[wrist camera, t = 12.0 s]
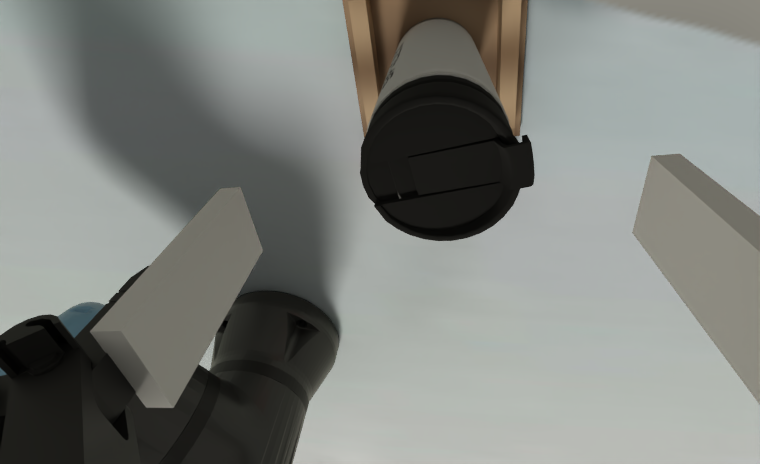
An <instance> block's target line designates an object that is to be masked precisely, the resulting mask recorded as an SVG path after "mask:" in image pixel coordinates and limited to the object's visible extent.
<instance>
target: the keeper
mask: <svg viewBox="0 0 760 464" xmlns="http://www.w3.org/2000/svg"><path fill="white" fill-rule="evenodd" d="M527 3H528V0H343V6H344V12H345V19H346V25H347V31H348V37H349V44H350V50H351V56H352V63H353V69H354V75H355V81H356V88H357V94H358V100H359V106H360V113H361V119H362V125H363V132H364V138H365V136H366V133H367V128H368V124H369V121H370V119H371V116H372V113H373V111H374V108H375V105H376V103H377V100H378V97H379V95H380V92H381V90H382V87H383V84H384V82H385V79H386V76H387V74H388V71H389V68H390V66H391V63H392V60H393V58H394V55H395V52H396V50H397V47H398V45H399V43H400V41H401V39H402V38H403V36H404V35H405V33H406V32H407V31H408V30H409V29H410V28H411V27H413V26H414V25H416V24H417V23H419V22H421V21H423V20H426V19H430V18H446V19H450V20H453V21H455V22H457V23H459V24H460V25H461V26H463V27H464V28H465V29H466V30H467V31H468V33H469V34H470V35H471V37H472V39H473V41H474V43H475V45H476V48H477V50H478V52H479V54H480V56H481V59H482V61H483V63H484V65H485V68H486V70H487V72H488V74H489V76H490V79H491V81H492V83H493V85H494V88H495V90H496V92H497V94H498V96H499V99H500V101H501V103H502V105H503V108H504V110H505V112H506V114H507V116H508V120H509V124H510V127H511V129H512V132H513V135H514V136H520V120H521V103H522V87H523V70H524V53H525V37H526V20H527Z"/></svg>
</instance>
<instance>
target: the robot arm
mask: <svg viewBox="0 0 760 464" xmlns="http://www.w3.org/2000/svg"><path fill="white" fill-rule="evenodd" d="M632 233H633V234H634V236H635V237H636V238H637V240H638V241H639V242H640V244H641V245H642V246H643V248H644V249H645V250H646V252H647V253H648V254H649V256H650V257H651V258H652V260H653V261H654V262H655V264H656V265H657V267H658V268H659V269H660V271H661V272H662V273H663V275H664V276H665V277H666V279H667V280H668V281H669V283H670V284H671V285H672V287H673V288H674V289H675V291H676V292H677V294H678V295H679V296H680V298H681V299H682V300H683V302H684V303H685V304H686V306H687V307H688V308H689V310H690V311H691V312H692V314H693V315H694V316H695V318H696V319H697V321H698V322H699V323H700V325H701V326H702V327H703V329H704V330H705V331H706V333H707V334H708V335H709V337H710V338H711V339H712V341H713V342H714V343H715V345H716V346H717V347H718V349H719V350H720V352H721V353H722V354H723V356H724V357H725V358H726V360H727V361H728V362H729V364H730V365H731V366H732V368H733V369H734V370H735V372H736V373H737V374H738V376H739V377H740V379H741V380H742V381H743V383H744V384H745V385H746V387H747V388H748V389H749V391H750V392H751V393H752V395H753V396H754V397H755V399H756V400H757V401H758V403H759V404H760V216H759V215H758V214H756V213H755V212H754V211H753V210H751V209H750V208H749V207H747V206H746V205H745V204H744V203H742V202H741V201H740V200H738V199H737V198H736V197H735V196H733V195H732V194H731V193H729V192H728V191H727V190H726V189H724V188H723V187H722V186H720V185H719V184H718V183H717V182H715V181H714V180H713V179H711V178H710V177H709V176H708V175H706V174H705V173H704V172H703V171H701V170H700V169H699V168H697V167H696V166H695V165H694V164H692V163H691V162H690V161H688V160H687V159H686V158H685V157H683V156H682V155H681V154H671V155H657V156H651V160H650V164H649V168H648V172H647V176H646V180H645V184H644V188H643V192H642V196H641V200H640V204H639V208H638V212H637V216H636V220H635V224H634V228H633V232H632ZM262 252H263V249H262V246H261V243H260V240H259V238H258V235H257V232H256V229H255V226H254V224H253V221H252V218H251V215H250V212H249V209H248V207H247V204H246V201H245V198H244V195H243V193H242V190H241V187H233V188H220V189H219V190H218V191H217V192H216V194H215V195H214V196H213V197H212V198H211V199H210V200H209V201H208V202H207V203H206V205H205V206H204V207H203V208H202V209H201V210H200V211H199V212H198V213H197V214H196V216H195V217H194V218H193V219H192V220H191V221H190V222H189V223H188V224H187V225H186V226H185V228H184V229H183V230H182V231H181V232H180V233H179V234H178V235H177V236H176V237H175V239H174V240H173V241H172V242H171V243H170V244H169V245H168V246H167V247H166V248H165V250H164V251H163V252H162V253H161V254H160V255H159V256H158V257H157V258H156V259H155V261H154V262H153V263H152V264H151V265H150V266H147V267H146V268H144V269H143V270H141V271H140V272H138V273H137V274H135V275H134V276H132V277H131V278H130V279H129V280H128V281H127V282H126V283H125V284H124V285H123V287H122V288H121V289H120V290H119V293H116V294H115V295H114V296H113V297H112V298H111V299H110V300H109V304H106V305H103V304H100V303H96V302H86V303H81V304H78V305H76V306H73V307H72V308H70V309H68V310H67V311H65V312H64V313H62V314H61V315H59V316H58V317H57V316H54V315H41V316H37V317H34V318H31V319H28V320H25V321H23V322H21V323H19V324H17V325H15V326H13V327H12V328H10V329H9V330H7V331H6V332H5V333H3V334H2V335H0V464H292V463H293V459H294V456H295V452H296V448H297V445H298V441H299V437H300V433H301V430H302V426H303V422H304V419H305V415H306V411H307V408H308V404H309V401H310V400H311V398H312V397H313V395H314V394H315V392H316V391H317V389H318V388H319V386H320V385H321V384H322V382H323V381H324V379H325V378H326V376H327V375H328V373H329V372H330V370H331V369H332V367H333V365H334V362H335V359H336V355H337V351H338V347H339V338H338V334H337V331H336V328H335V327H334V325H333V323H332V322H331V320H330V319H329V318H328V317H327V316H326V315H325V314H324V313H323V312H322V311H321V310H320V309H318V308H317V307H315V306H314V305H312V304H311V303H309V302H307V301H305V300H303V299H301V298H298V297H296V296H293V295H289V294H286V293H281V292H274V291H259V292H252V293H248V294H245V295H242V296H240V297H238V298H237V299H236V297H237V296H238V294H239V292H240V290H241V289H242V287H243V285H244V283H245V282H246V280H247V278H248V276H249V275H250V273H251V271H252V269H253V268H254V266H255V264H256V262H257V261H258V259H259V257H260V255H261V254H262ZM215 334H216V336H215ZM214 336H215V343H214V350H213V356H212V363H211V368H210V371H208V370H207V369H205V368H203V367H202V366H200V365H199V362H200V361H201V359H202V357H203V355H204V354H205V352H206V350H207V348H208V347H209V345H210V343H211V341H212V340H213V338H214Z"/></svg>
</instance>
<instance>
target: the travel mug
mask: <svg viewBox="0 0 760 464" xmlns="http://www.w3.org/2000/svg"><path fill="white" fill-rule="evenodd" d="M360 175H361V179H362V183H363V186H364V189H365V191H366V193H367V195H368V197H369V198H370V199H371V200H372V201H373V202H374V203H375V208H376V209H377V210H378V212H379V213H380V214H381V215H382V217H383V218H384V219H385V220H386V221H387V222H388V223H390V224H391V225H393V226H394V227H395V228H397V229H399V230H401V231H403V232H405V233H407V234H409V235H412V236H416V237H419V238H422V239H428V240H435V241H453V240H458V239H464V238H468V237H471V236H474V235H476V234H479V233H481V232H483V231H485V230H487V229H488V228H490V227H492V226H493V225H494V224H496V223H497V222H498V221H499V220H500V219H502V218H503V217H504V216H505V214H506V213H507V212H508V211H509V209H510V208H511V207H512V206H513V204H514V202H515V200H516V198H517V196H518V193H519V190H520V188H524V187H530V186H532V185H533V182H534V161H533V153H532V146H531V142H530V140H529V138H528V136H527V135H523V136H522V142H521V143H519V142H518V141H517V139H516V138H515V136H514V135H513V132H512V129H511V127H510V124H509V120H508V116H507V114H506V112H505V110H504V108H503V105H502V103H501V101H500V99H499V96H498V94H497V92H496V90H495V88H494V85H493V83H492V81H491V79H490V76H489V74H488V72H487V70H486V68H485V65H484V63H483V61H482V59H481V56H480V54H479V52H478V50H477V48H476V45H475V43H474V41H473V39H472V37H471V35H470V34H469V33H468V31H467V30H466V29H465V28H464V27H463V26H461V25H460V24H459V23H457V22H455V21H453V20H450V19H446V18H430V19H426V20H423V21H421V22H419V23H417V24H416V25H414V26H413V27H411V28H410V29H409V30H408V31H407V32H406V33H405V35H404V36H403V38H402V39H401V41H400V43H399V45H398V47H397V50H396V52H395V55H394V58H393V60H392V63H391V66H390V68H389V71H388V74H387V76H386V79H385V82H384V84H383V87H382V90H381V92H380V95H379V97H378V100H377V103H376V105H375V108H374V111H373V113H372V116H371V119H370V121H369V124H368V128H367V133H366V136H365V139H364V141H363V144H362V147H361V170H360Z"/></svg>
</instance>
